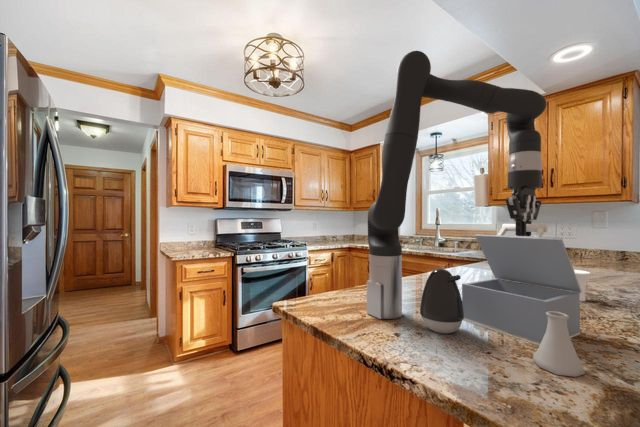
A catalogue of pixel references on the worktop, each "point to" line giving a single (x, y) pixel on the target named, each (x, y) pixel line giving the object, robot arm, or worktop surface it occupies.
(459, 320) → the pump dispenser
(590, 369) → the worktop surface
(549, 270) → the lid flap
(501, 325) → the carton
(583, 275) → the cup
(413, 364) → the worktop surface
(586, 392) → the worktop surface
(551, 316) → the flask
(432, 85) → the robot arm
